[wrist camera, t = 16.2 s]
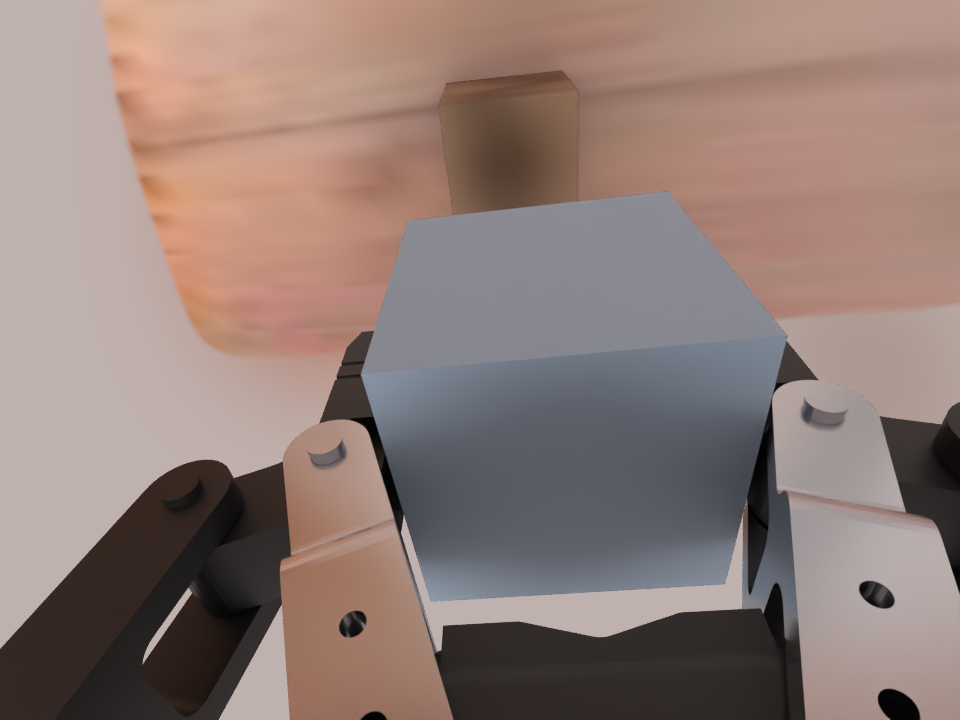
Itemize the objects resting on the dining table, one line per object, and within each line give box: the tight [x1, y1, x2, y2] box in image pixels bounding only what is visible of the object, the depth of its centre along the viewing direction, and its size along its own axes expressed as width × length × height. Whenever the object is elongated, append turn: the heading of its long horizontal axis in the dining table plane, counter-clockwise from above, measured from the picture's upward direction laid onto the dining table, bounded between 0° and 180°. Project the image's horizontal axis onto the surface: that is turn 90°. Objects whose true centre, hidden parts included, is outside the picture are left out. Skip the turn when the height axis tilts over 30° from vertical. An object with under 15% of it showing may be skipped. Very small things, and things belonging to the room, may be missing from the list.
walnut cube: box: [439, 70, 578, 215], centre depth 23 cm, size 5×5×5 cm
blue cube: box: [361, 191, 787, 602], centre depth 10 cm, size 5×5×5 cm
